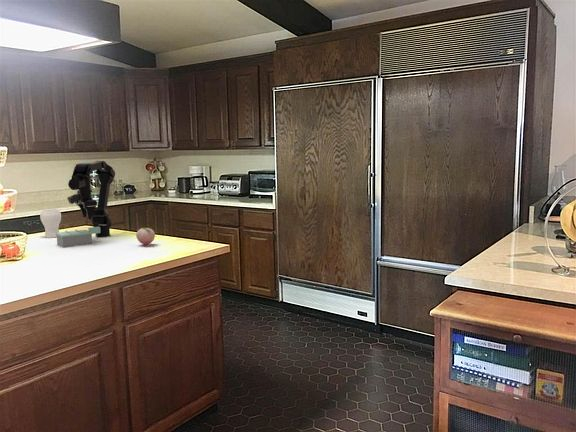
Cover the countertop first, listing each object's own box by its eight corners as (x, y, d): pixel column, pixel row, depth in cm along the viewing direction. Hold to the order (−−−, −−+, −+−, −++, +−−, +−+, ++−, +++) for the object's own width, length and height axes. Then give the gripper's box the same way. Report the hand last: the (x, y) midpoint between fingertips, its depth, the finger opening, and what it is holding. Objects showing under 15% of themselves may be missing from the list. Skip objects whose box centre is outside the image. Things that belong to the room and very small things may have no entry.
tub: (85, 242, 251) (85, 231, 250) (92, 245, 244) (91, 233, 243) (57, 246, 242) (56, 234, 241) (63, 249, 235) (62, 237, 234)
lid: (95, 231, 254) (95, 225, 254) (103, 233, 246) (102, 228, 246) (55, 236, 242) (55, 230, 241) (62, 238, 234) (61, 232, 233)
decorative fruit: (159, 244, 242) (158, 225, 241) (146, 247, 236) (145, 227, 234) (146, 243, 248) (145, 224, 246) (133, 245, 241) (132, 226, 239)
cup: (47, 238, 263) (45, 211, 261) (38, 237, 269) (36, 210, 267) (66, 236, 271) (64, 209, 269) (56, 234, 278) (54, 208, 276)
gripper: (63, 188, 247) (65, 218, 250) (72, 190, 233) (75, 222, 235) (85, 186, 254) (88, 215, 257) (96, 189, 240) (98, 219, 242)
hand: (87, 218), depth 247 cm, fingers open, 9 cm apart
